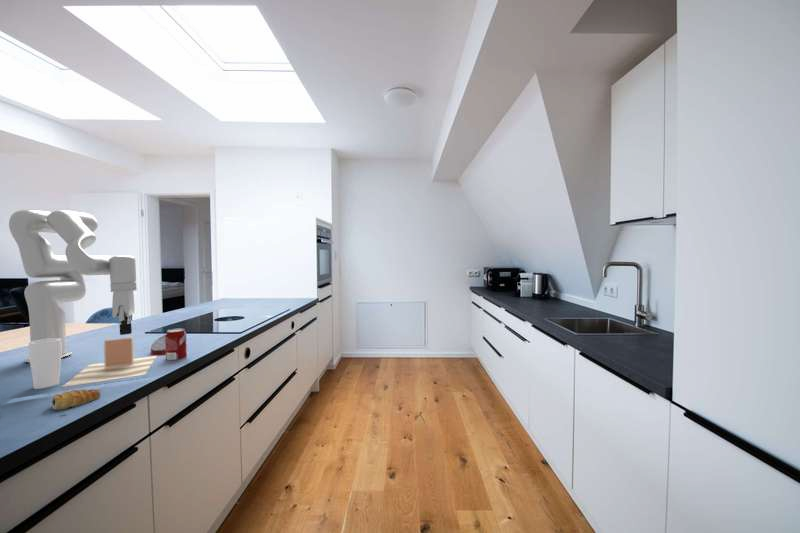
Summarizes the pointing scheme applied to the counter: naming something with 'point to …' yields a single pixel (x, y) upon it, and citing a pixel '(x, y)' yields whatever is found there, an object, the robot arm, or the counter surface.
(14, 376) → the counter surface
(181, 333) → the soda can
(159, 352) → the canned food
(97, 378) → the board
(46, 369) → the drinking glass
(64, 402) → the pastry
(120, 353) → the block
